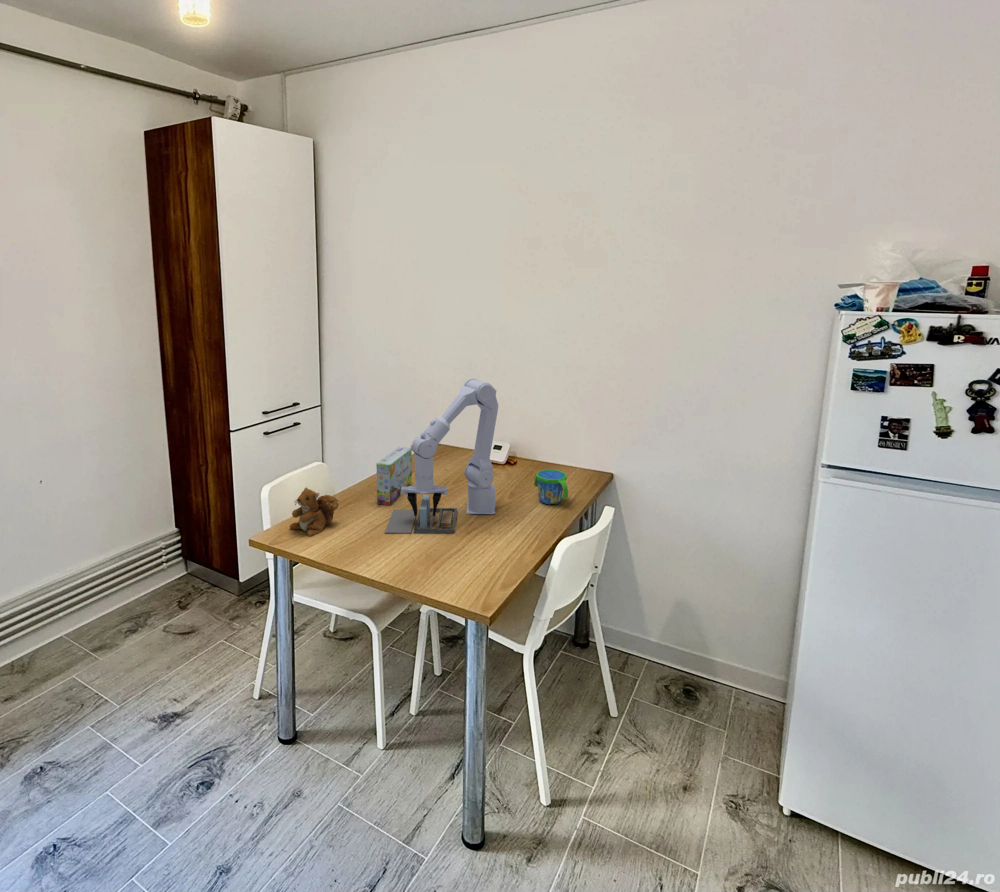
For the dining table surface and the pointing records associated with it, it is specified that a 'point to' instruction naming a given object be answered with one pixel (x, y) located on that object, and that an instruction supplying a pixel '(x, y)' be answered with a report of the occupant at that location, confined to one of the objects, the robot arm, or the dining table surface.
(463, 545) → the dining table surface
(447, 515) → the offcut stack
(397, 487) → the snack box
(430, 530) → the metal rack
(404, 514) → the charcoal mat
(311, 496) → the stuffed squirrel
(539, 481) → the snack cup
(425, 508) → the blue-grey rectangular block
